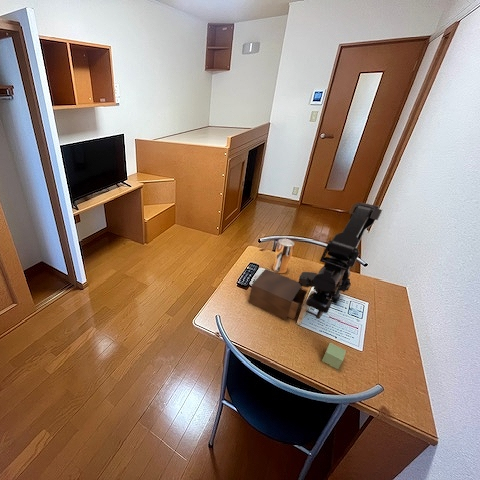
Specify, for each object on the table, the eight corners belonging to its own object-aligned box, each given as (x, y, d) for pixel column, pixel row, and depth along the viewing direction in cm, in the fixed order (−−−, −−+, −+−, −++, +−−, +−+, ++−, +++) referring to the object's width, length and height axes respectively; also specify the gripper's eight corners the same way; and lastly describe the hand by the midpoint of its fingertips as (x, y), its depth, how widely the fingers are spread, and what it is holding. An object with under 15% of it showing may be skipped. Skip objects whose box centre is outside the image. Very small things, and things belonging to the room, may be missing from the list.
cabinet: (297, 302, 104) (303, 283, 99) (285, 320, 96) (291, 301, 91) (261, 286, 112) (265, 268, 107) (248, 302, 104) (251, 284, 100)
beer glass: (289, 274, 118) (296, 247, 111) (272, 273, 120) (279, 245, 112) (285, 265, 124) (293, 238, 116) (270, 264, 125) (276, 237, 118)
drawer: (323, 312, 97) (329, 297, 93) (314, 331, 90) (320, 316, 86) (275, 291, 108) (278, 276, 104) (263, 306, 101) (267, 291, 97)
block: (325, 351, 85) (329, 342, 82) (341, 359, 82) (346, 350, 80) (321, 360, 82) (325, 351, 79) (338, 369, 79) (342, 360, 77)
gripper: (313, 253, 95) (303, 286, 103) (295, 278, 83) (285, 312, 91) (349, 265, 88) (334, 299, 96) (335, 294, 76) (319, 329, 84)
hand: (318, 309), depth 92 cm, fingers closed, pressing on drawer
